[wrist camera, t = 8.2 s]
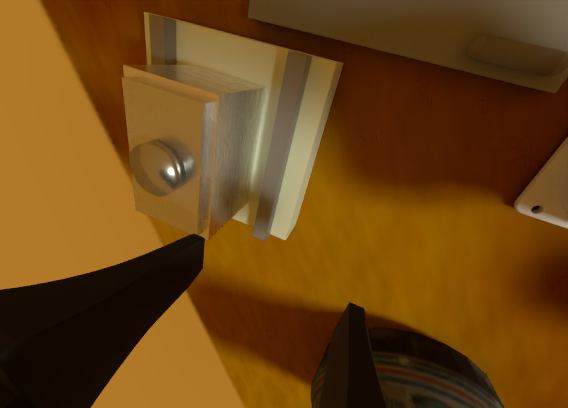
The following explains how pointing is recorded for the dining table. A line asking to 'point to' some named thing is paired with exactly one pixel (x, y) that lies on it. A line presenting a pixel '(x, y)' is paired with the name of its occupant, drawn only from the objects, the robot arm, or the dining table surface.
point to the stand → (276, 113)
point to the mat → (443, 33)
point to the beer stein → (420, 374)
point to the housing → (191, 143)
